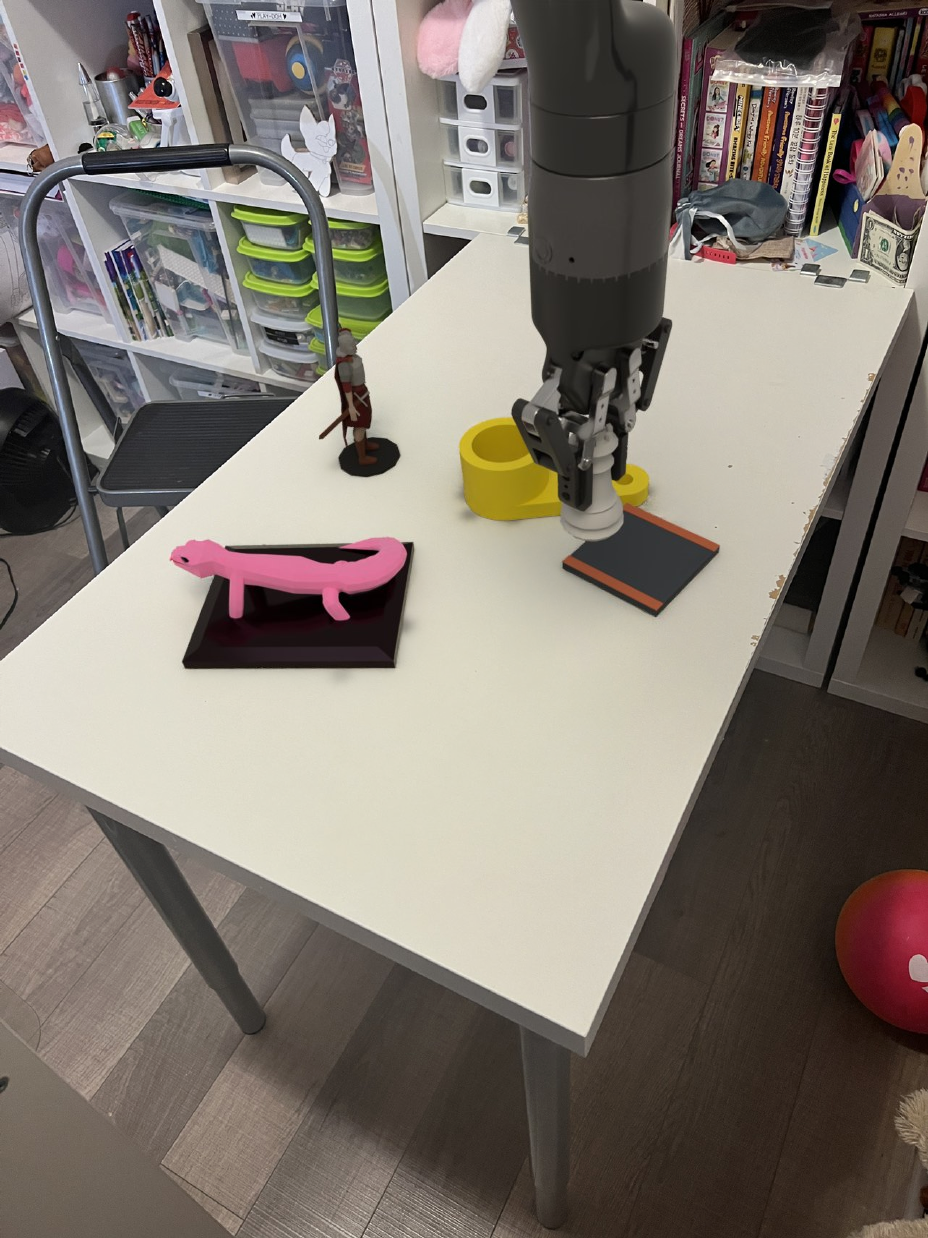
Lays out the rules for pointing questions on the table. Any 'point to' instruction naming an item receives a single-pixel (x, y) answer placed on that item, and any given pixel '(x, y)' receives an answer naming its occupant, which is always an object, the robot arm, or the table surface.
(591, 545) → the mat
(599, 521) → the rook chess piece
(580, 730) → the table surface
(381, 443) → the figurine
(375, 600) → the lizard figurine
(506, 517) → the crank
